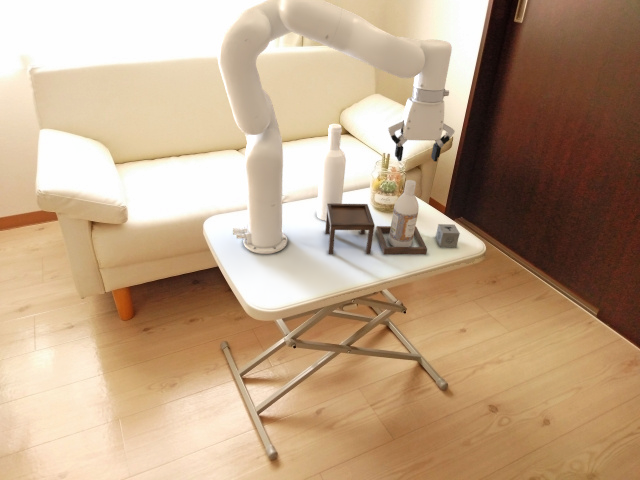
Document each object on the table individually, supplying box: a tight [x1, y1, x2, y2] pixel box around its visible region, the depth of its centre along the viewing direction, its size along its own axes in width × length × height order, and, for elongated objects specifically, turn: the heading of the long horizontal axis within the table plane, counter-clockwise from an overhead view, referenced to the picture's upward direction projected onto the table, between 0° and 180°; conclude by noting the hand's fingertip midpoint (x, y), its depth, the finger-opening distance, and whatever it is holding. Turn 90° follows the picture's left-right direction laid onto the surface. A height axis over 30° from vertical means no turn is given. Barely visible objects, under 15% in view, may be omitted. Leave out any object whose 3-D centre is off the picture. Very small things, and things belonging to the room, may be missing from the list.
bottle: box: [316, 123, 347, 222], centre depth 139 cm, size 8×8×30 cm
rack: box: [324, 203, 428, 256], centre depth 132 cm, size 28×12×10 cm, turn 95°
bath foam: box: [388, 179, 420, 247], centre depth 130 cm, size 7×7×20 cm
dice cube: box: [434, 223, 461, 249], centre depth 135 cm, size 5×5×5 cm
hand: (416, 159), depth 121 cm, fingers open, 9 cm apart
